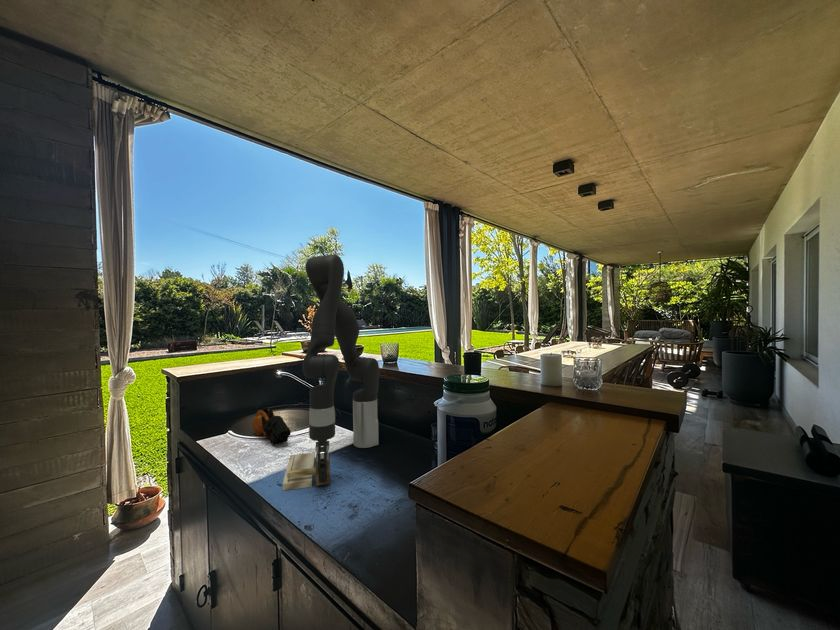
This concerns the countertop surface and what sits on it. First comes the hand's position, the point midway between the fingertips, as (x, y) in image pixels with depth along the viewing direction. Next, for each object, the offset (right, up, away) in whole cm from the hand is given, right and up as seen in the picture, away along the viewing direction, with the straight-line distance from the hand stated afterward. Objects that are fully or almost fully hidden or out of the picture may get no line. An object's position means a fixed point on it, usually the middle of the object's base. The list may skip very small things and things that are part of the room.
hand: (323, 477), depth 103 cm
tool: (-30, -2, +34) cm, 46 cm away
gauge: (-4, -1, -1) cm, 4 cm away
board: (-9, -2, +6) cm, 11 cm away
